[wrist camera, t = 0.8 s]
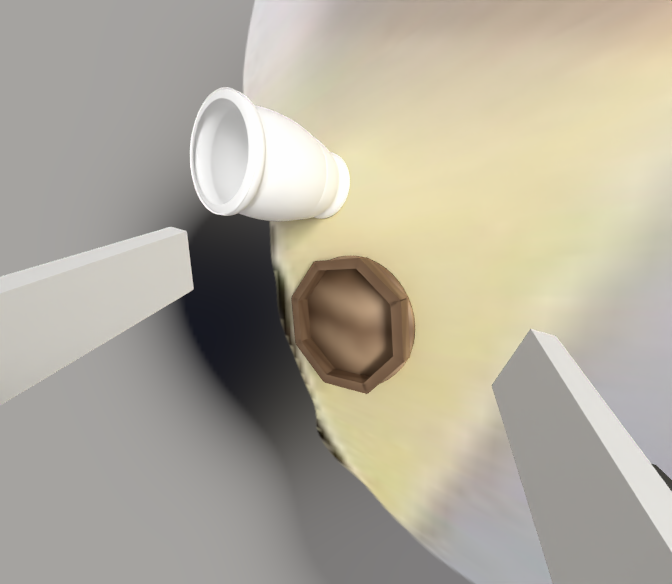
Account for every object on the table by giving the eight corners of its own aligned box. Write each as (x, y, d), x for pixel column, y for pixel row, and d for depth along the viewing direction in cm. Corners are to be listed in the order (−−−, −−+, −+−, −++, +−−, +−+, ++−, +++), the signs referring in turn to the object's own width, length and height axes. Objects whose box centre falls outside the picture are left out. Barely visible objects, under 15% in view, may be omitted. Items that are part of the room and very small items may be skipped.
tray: (299, 260, 39) (286, 260, 37) (412, 250, 29) (402, 250, 27) (309, 370, 41) (296, 377, 39) (417, 397, 31) (409, 408, 29)
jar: (291, 218, 39) (186, 205, 27) (301, 142, 36) (189, 90, 24) (348, 233, 34) (249, 225, 22) (367, 145, 31) (262, 79, 19)
